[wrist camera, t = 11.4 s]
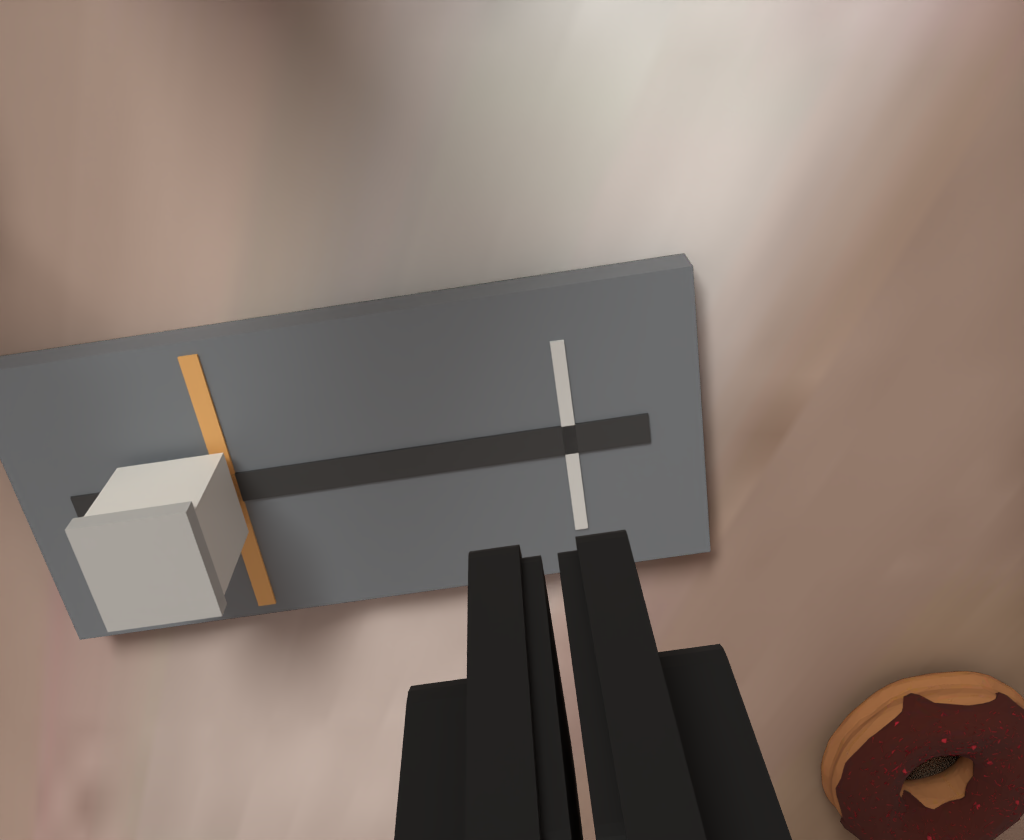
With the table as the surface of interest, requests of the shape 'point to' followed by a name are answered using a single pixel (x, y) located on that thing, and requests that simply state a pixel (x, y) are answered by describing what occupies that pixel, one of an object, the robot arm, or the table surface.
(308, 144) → the table surface
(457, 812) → the robot arm
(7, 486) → the table surface
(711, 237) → the table surface
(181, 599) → the fader tab
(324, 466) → the fader console
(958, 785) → the donut
